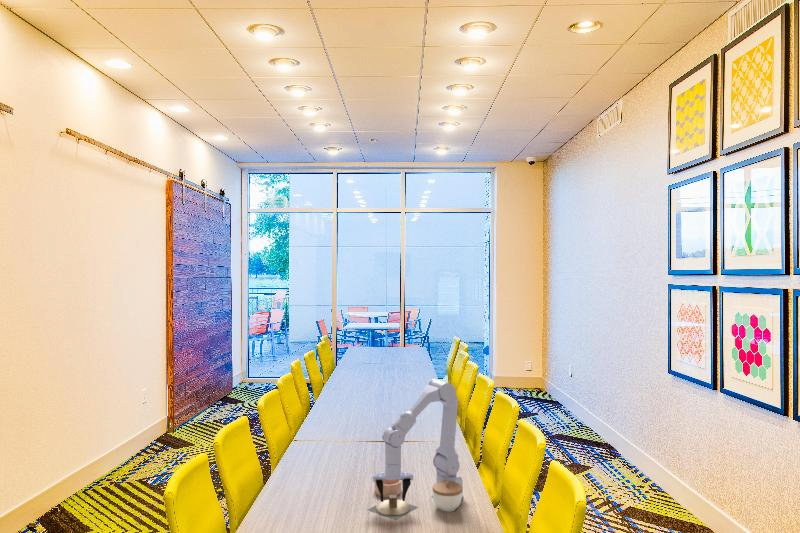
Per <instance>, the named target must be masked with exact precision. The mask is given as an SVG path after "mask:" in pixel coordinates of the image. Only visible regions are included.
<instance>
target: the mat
mask: <svg viewBox="0 0 800 533" xmlns="http://www.w3.org/2000/svg"><path fill="white" fill-rule="evenodd" d="M386 500H389V498H387V499H386ZM408 504H409V505H410V510H409V511H408V512H407V513H405V514H402V515H398V516H388V515H383V514H381V513H379V512H378V511H377V510H376V505H377V504H376V505H373V506H372V507H369V508H367V511H369V512H372V513H375V514H378V515H381V516H383V517H386V518H389V519H392V520H394V521H397V520H399V519H400V518H402V517H404V516H405V515H407V514H409V513H411V512H413V511H414V510H416V509H418V508H419V507H418V506H416V505H413V504H410V503H408Z"/></svg>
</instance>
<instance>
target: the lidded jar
mask: <svg viewBox="0 0 800 533" xmlns="http://www.w3.org/2000/svg"><path fill="white" fill-rule="evenodd" d="M463 489H464V488H462V486H461V485H460V484H459V483H456V482H452V481H441V482H437V481H436V483H435V482H434V484H433V485H432V495H433V497H432V498H433V501H434V503H435V505H436V506H437V508H438V509H440V510H441V511H442V512H447V513H448V512H449V513H450V512H454V511H456V510H457V508H458V507H459V506H460V505H461V503H462V499H463V497H462V490H463ZM463 491H464V490H463Z"/></svg>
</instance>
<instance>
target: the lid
mask: <svg viewBox="0 0 800 533" xmlns="http://www.w3.org/2000/svg"><path fill="white" fill-rule="evenodd" d="M388 499H389V500H387V499H383V502H381V501H379V502H378V503H377V504H376V510H377V511H378V512H379V513H381V514H383V515H388V516H398V515H402V514H405V513H407V512H408V511H409V510H410V505H411V504H410V503H408V502H407V501H406V500H405V501H403V500H402V499H398V495H397V496H396V495H389V497H388ZM409 504H410V505H409ZM383 515H382V516H383Z"/></svg>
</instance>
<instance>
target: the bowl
mask: <svg viewBox="0 0 800 533" xmlns="http://www.w3.org/2000/svg"><path fill="white" fill-rule="evenodd" d="M374 493H375V494H376V496H377V495H378V496H380V492H379V490H378V487H377V485H376V482H374ZM389 495H396V496H397V497H398V496H399V495H402V480H387V481H383V498H384V497H387V498H389Z"/></svg>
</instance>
